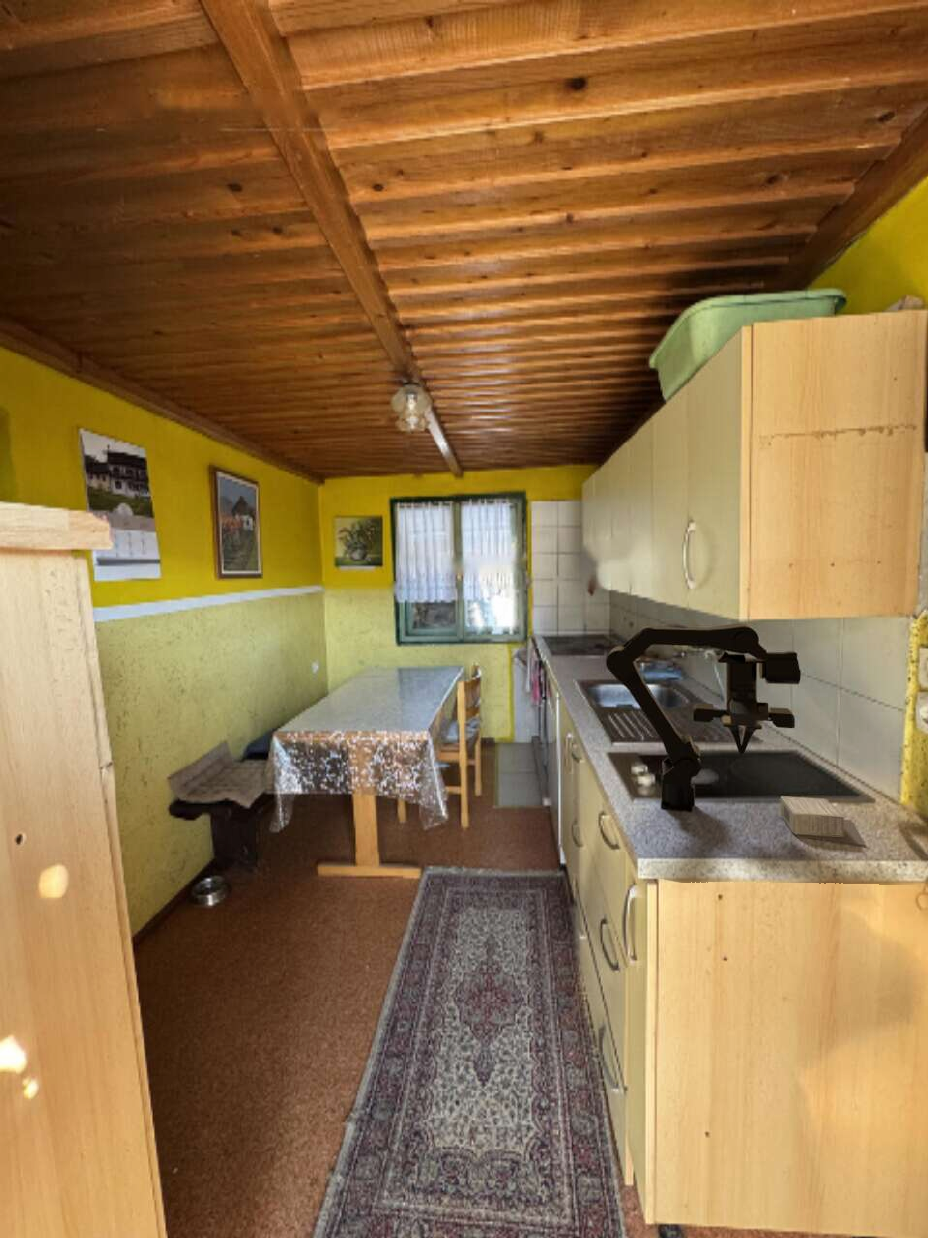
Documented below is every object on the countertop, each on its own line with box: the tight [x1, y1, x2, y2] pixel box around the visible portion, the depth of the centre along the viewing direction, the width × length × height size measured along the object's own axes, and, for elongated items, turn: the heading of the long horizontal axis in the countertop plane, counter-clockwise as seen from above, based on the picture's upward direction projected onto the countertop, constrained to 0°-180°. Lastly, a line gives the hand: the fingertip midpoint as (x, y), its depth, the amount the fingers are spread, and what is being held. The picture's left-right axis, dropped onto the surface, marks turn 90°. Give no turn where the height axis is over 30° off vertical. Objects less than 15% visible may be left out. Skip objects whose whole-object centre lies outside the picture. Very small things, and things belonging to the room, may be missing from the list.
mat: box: [795, 819, 867, 848], centre depth 101 cm, size 11×10×1 cm
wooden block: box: [780, 795, 845, 837], centre depth 102 cm, size 8×4×9 cm
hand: (741, 753), depth 109 cm, fingers closed
